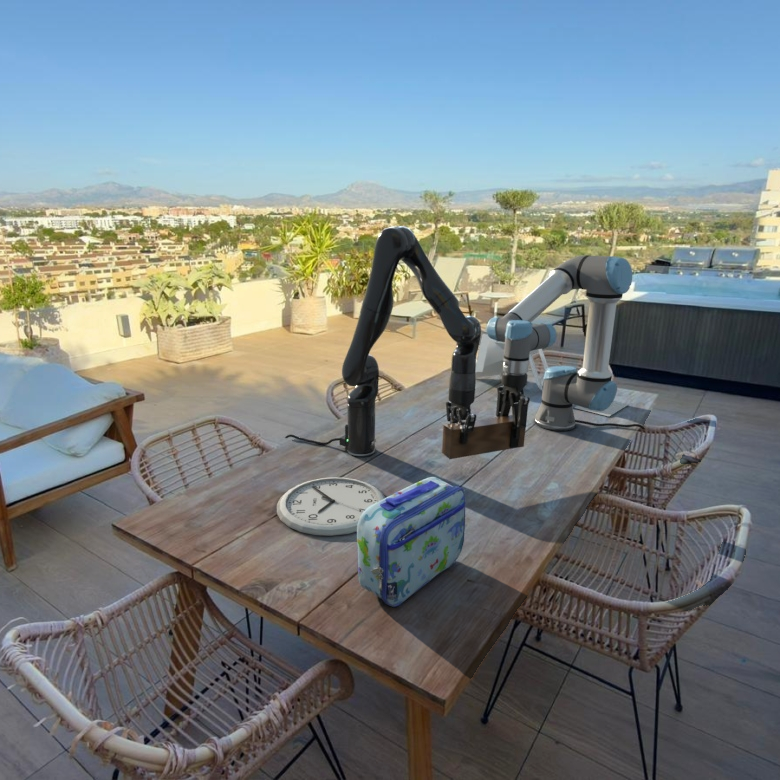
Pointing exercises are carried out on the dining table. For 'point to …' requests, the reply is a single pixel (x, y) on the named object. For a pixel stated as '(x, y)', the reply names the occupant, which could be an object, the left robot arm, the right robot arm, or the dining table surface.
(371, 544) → the lunch box
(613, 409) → the invitation card
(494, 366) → the white plastic object
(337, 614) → the dining table surface
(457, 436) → the bar
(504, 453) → the dining table surface
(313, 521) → the wall clock
